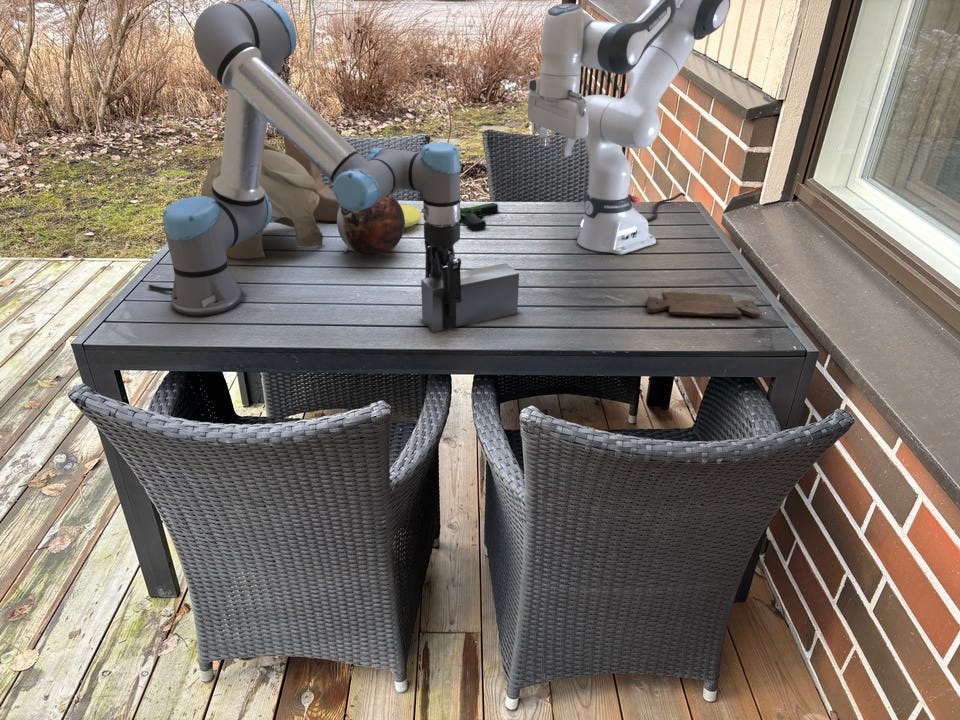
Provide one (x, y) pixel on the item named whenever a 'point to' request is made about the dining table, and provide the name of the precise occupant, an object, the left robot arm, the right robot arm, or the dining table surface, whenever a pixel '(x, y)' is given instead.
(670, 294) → the dark wooden board
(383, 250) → the marbled brown ball
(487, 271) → the box
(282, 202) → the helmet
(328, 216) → the decorative block
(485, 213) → the handgun
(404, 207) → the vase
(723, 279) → the dining table surface
